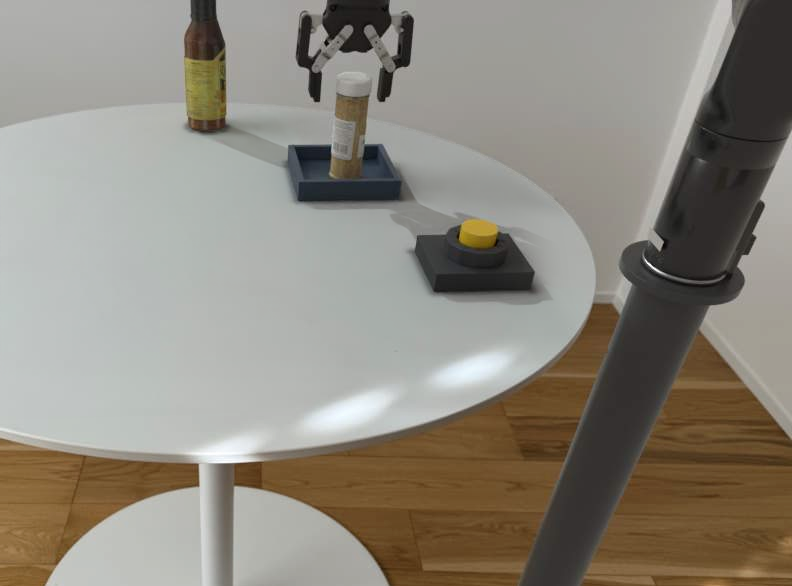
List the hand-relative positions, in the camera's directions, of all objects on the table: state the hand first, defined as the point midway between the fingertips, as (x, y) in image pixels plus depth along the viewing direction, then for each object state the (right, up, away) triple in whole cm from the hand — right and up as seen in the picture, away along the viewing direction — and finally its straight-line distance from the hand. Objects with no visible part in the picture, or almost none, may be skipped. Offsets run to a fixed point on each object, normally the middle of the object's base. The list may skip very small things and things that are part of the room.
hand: (348, 100), depth 102 cm
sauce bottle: (-20, +4, +22) cm, 30 cm away
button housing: (+13, -24, -11) cm, 29 cm away
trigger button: (+13, -21, -14) cm, 28 cm away
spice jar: (0, -8, +6) cm, 11 cm away
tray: (0, -8, +7) cm, 11 cm away
